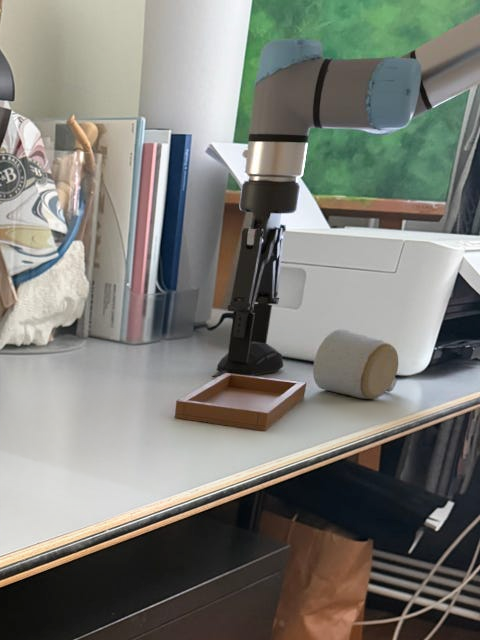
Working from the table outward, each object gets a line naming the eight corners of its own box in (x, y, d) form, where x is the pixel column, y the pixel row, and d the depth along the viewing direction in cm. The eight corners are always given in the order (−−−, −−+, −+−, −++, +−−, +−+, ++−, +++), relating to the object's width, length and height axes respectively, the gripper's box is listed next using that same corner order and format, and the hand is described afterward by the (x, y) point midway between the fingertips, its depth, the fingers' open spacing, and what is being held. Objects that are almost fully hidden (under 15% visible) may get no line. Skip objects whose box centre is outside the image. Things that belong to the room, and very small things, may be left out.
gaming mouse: (194, 374, 131) (197, 345, 129) (253, 363, 140) (257, 335, 138) (232, 382, 127) (236, 351, 125) (290, 369, 136) (295, 341, 134)
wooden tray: (303, 398, 119) (306, 382, 118) (265, 431, 103) (267, 413, 102) (223, 388, 123) (225, 372, 122) (174, 417, 108) (176, 400, 107)
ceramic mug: (360, 404, 116) (374, 340, 113) (307, 391, 122) (318, 330, 119) (409, 396, 122) (424, 335, 119) (356, 384, 128) (368, 326, 124)
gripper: (264, 177, 133) (241, 342, 143) (220, 178, 116) (197, 365, 126) (318, 179, 130) (290, 347, 140) (280, 181, 113) (252, 371, 123)
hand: (246, 355), depth 133 cm, fingers closed on gaming mouse, 8 cm apart
